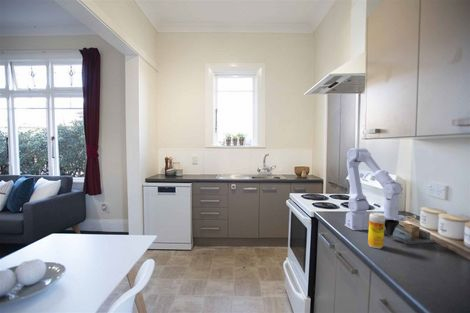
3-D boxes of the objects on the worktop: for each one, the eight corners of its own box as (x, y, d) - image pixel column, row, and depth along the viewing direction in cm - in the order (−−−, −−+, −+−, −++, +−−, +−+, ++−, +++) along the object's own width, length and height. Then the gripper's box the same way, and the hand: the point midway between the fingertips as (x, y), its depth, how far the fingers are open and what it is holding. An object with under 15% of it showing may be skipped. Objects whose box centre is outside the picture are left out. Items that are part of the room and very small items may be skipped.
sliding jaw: (404, 240, 115) (405, 233, 115) (388, 232, 125) (388, 226, 125) (409, 239, 115) (410, 233, 115) (392, 231, 125) (393, 226, 125)
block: (411, 237, 119) (411, 227, 118) (403, 233, 123) (404, 224, 123) (418, 236, 120) (419, 226, 119) (411, 233, 124) (411, 223, 124)
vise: (405, 244, 114) (406, 234, 114) (385, 234, 126) (386, 226, 125) (434, 242, 117) (435, 233, 116) (412, 233, 128) (412, 224, 128)
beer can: (375, 249, 107) (377, 216, 106) (364, 244, 113) (366, 212, 112) (386, 248, 109) (388, 215, 108) (375, 242, 115) (377, 211, 114)
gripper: (384, 210, 113) (382, 238, 114) (411, 209, 116) (409, 237, 116) (373, 206, 120) (371, 233, 121) (398, 205, 122) (397, 231, 123)
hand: (389, 234), depth 119 cm, fingers closed
